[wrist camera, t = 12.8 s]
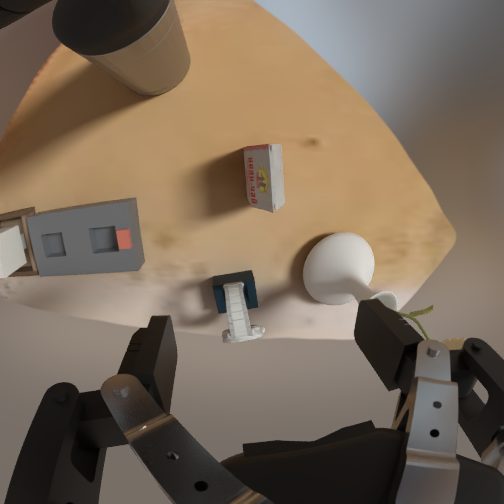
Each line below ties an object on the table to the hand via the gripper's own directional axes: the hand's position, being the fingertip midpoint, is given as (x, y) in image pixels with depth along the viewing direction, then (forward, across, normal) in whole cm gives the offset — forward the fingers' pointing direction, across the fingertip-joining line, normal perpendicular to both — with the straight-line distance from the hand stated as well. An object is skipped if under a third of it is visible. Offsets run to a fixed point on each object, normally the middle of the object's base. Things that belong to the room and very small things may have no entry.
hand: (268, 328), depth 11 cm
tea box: (+28, -3, -5) cm, 28 cm away
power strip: (+27, +22, +2) cm, 35 cm away
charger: (+27, +36, +2) cm, 45 cm away
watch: (+28, 0, +11) cm, 30 cm away
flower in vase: (+28, -16, +9) cm, 33 cm away
